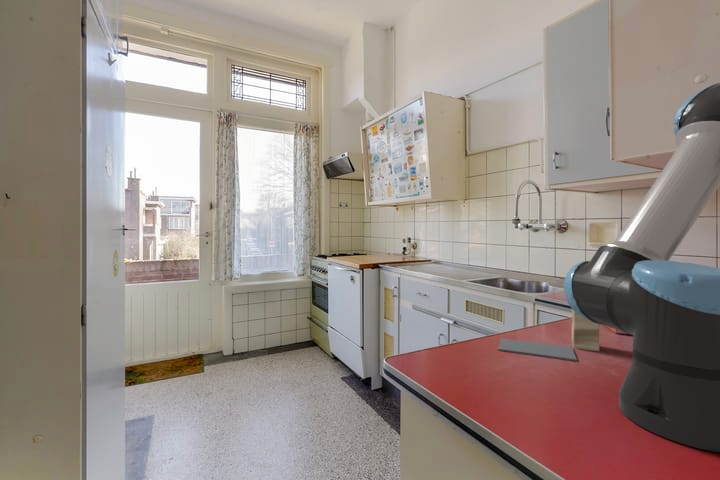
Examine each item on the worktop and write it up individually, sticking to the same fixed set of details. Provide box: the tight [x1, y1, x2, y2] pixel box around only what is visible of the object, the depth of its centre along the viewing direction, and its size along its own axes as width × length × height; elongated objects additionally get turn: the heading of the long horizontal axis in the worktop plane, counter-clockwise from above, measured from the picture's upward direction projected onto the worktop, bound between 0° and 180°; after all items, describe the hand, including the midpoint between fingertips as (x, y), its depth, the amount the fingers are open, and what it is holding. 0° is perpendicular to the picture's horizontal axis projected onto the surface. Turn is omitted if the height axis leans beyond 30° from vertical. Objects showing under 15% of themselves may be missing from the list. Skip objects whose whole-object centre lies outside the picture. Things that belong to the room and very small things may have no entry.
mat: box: [497, 337, 578, 362], centre depth 80 cm, size 9×16×1 cm, turn 63°
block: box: [571, 308, 600, 352], centre depth 82 cm, size 5×5×12 cm
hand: (635, 320), depth 78 cm, fingers open, 13 cm apart
